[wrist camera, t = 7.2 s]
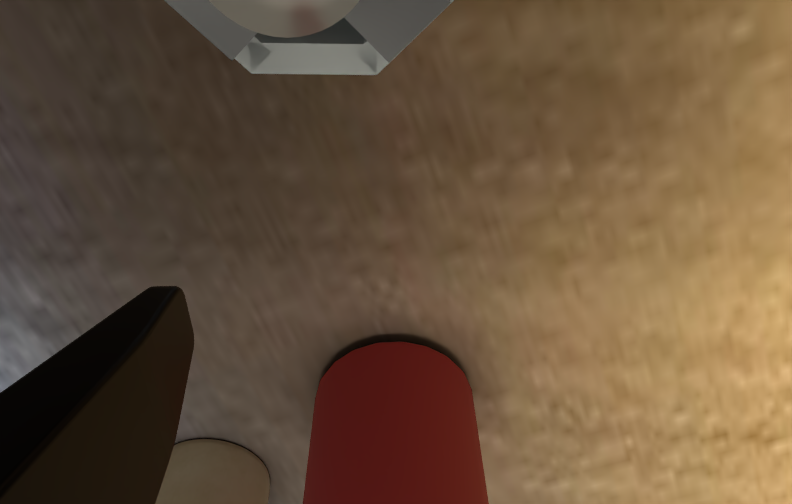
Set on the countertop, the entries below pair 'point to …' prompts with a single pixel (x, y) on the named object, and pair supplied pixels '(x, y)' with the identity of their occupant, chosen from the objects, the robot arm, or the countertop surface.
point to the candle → (214, 475)
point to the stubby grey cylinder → (285, 15)
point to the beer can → (394, 431)
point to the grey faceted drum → (319, 38)
